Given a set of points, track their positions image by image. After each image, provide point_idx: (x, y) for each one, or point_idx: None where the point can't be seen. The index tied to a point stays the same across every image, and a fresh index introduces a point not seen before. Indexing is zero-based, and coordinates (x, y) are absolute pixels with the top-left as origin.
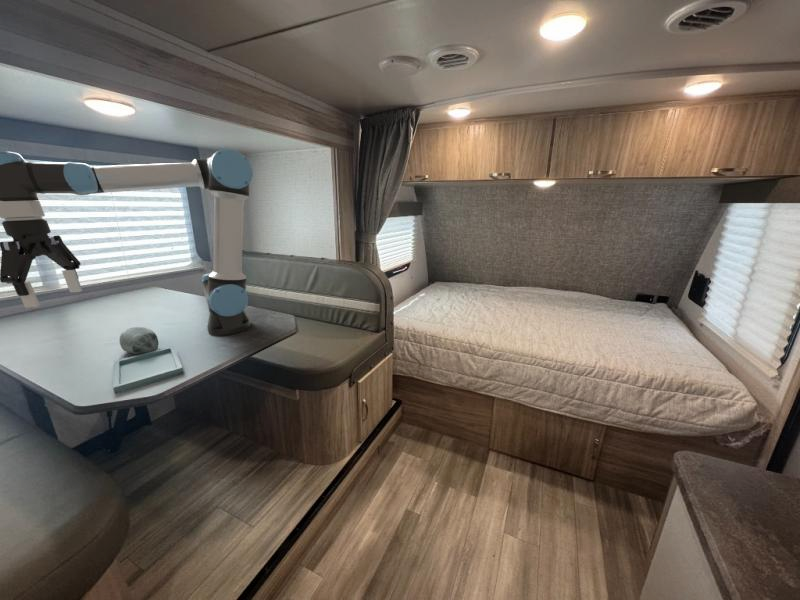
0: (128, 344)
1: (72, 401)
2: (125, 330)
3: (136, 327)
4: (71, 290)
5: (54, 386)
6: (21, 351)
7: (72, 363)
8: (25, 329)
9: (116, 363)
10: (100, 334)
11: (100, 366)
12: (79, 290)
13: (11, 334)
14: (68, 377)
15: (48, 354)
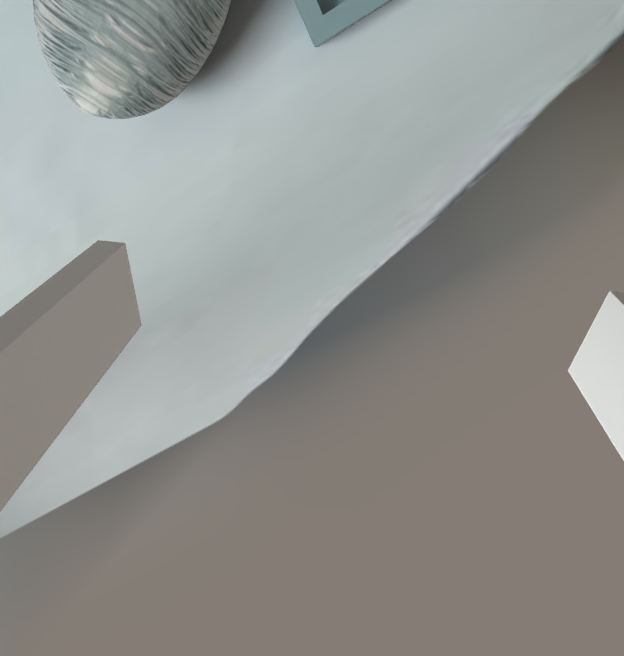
0: (215, 7)
1: (597, 48)
2: (95, 85)
3: (61, 22)
4: (130, 321)
5: (420, 204)
6: (140, 435)
7: (244, 255)
8: None
9: (346, 14)
10: (7, 306)
11: (294, 129)
12: (121, 254)
13: (39, 508)
14: (360, 199)
15: (165, 364)
